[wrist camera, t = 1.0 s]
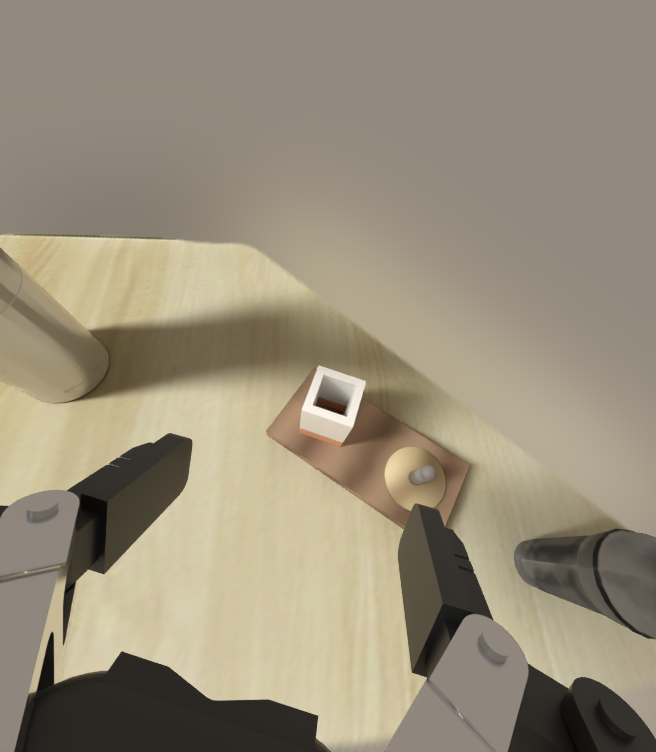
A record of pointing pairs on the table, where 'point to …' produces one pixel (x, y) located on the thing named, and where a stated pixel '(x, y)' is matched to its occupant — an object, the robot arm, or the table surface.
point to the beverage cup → (597, 574)
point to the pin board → (376, 460)
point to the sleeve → (335, 394)
